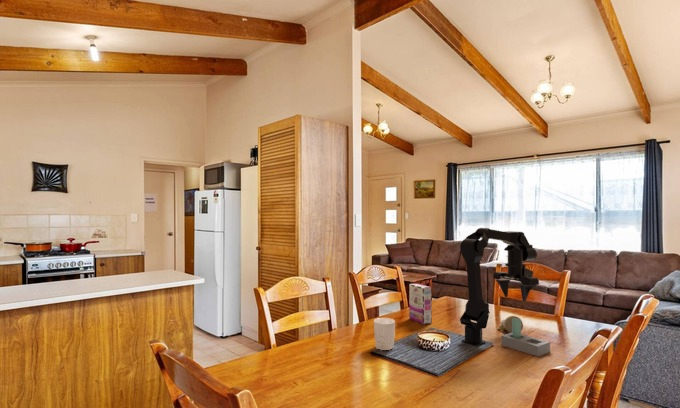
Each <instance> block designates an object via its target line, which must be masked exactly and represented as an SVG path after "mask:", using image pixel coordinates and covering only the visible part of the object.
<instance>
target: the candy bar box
mask: <svg viewBox="0 0 680 408" xmlns="http://www.w3.org/2000/svg"><path fill="white" fill-rule="evenodd" d="M408 287H409V289H408V290H409V291H408V292H409V293H408V295H409V296H408V298H409V304H408V306H409V307H408V309H409V310H408V311H409V313H408V314H409V315H408V317H409V319H410V320H412V321H414V322H417V323H418V324H419V323H420V324H422V325H429V324H433V323H432V321H433V319H432V318H433V316H432V315H433V311H432V309H433V307H432V303H433V302H432V298H433V296H432V295H433V294H432V293H433V292H432V286H427V285H425V284H420V283H409V286H408Z"/></svg>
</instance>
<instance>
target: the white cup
mask: <svg viewBox="0 0 680 408" xmlns="http://www.w3.org/2000/svg"><path fill="white" fill-rule="evenodd" d="M395 320H396V319H393V318H389V317H380V318H379V317H377V318H375V319H374V320H373V328H374V329H373V330H374V331H373V332H374V341H375V342H374V344H375V345H374V346H375V349H376V350H378V349H381V350H380V351H382V350H389V351H391V350H390V349H392V348H393V349H394V346H395V345H394V344H395V336H396V335H395V333H396V321H395ZM393 349H392V350H393Z"/></svg>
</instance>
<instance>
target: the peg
mask: <svg viewBox="0 0 680 408" xmlns="http://www.w3.org/2000/svg"><path fill="white" fill-rule="evenodd" d="M519 318H520V317H519ZM519 318H512V337H514V338H517V339H520V338H521V334H522V330H521V321H522V319H521V318H520V319H519Z"/></svg>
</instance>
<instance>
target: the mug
mask: <svg viewBox="0 0 680 408" xmlns="http://www.w3.org/2000/svg"><path fill="white" fill-rule="evenodd" d="M512 318H519V319H521V318H520V317H518V316H517V315H509V316H507V317H506V318H505V319H502V320H501V323H500V326H498V327H497V328H496V330H497V331H503V330H506V331H507V332H508V333H512ZM523 329H524V323H523V321H522V320H521V331H522V330H523Z"/></svg>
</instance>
